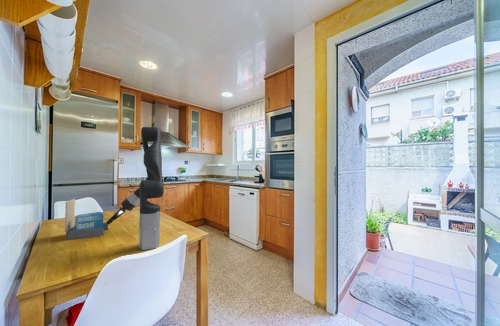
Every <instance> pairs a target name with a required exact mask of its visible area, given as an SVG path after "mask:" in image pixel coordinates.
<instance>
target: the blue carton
mask: <svg viewBox="0 0 500 326" xmlns="http://www.w3.org/2000/svg"><path fill="white" fill-rule="evenodd" d="M103 223H104V213H103V212H102V211H94V212H86V213H81V214H77V215H76V216H75V218H74V226H75V230H83V229H92V228H102V227H103Z"/></svg>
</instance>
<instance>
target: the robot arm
mask: <svg viewBox="0 0 500 326" xmlns="http://www.w3.org/2000/svg"><path fill="white" fill-rule="evenodd" d="M140 135H141V143H142V148H143V165H144V166H145V171H146V179H145V180H141V181H140V183H139V187H138V188H137V189H136V190H135V191H133V192H132V193H131V194H129V195H128V196H127V197H126V198H125V199H124V200H123V201H121V202H120V205H121V206H120V207H119V208H118V209H117V210H116V211H115V212H114V213H113V215H112V216H111V217H110V218H109V219H108V220H106V222H105V223H107V224H108V226H110V224H112V223H113V222H114V221H115V220H117V219H118V218H120V217H121V216H122V215H124V214H125V213H126V212H127V211H128V212H131V211H132V210H134V209H135V208H136V207H137V206H138V205H139V229H138V235H139V236H138V249H140V250H141V251H147V250H151V249H154V250H155V249H157V247H159V245H160V243H161V241H160V240H161V235H160V234H161V206H160V205H159V204H157V203H153V202H150V201H149V200H148V199H159V198H162V197H163V196H164V191H165V189H164V188H165V186H164V180H163V170H162V169H163V165H162V163H163V162H162V160H163V158H162V147H161V141H162V132H161V130H160V128H159V127H157V126H143V127H141V130H140ZM149 142H152V144H150V145H149ZM126 210H127V211H126Z"/></svg>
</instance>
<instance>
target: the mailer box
mask: <svg viewBox="0 0 500 326" xmlns="http://www.w3.org/2000/svg"><path fill="white" fill-rule="evenodd" d="M75 201H76V198H72V199H69V200H66V201H65V214H64V215H65V216H64V217H65V219H64V220H65V221H64V224H65V225H64V232H66V233H65V241H69V240H77V239H85V238H92V237H94V238H95V237H101V236H104V235H105V232H104V231H109V225H108V224H107V223H106V222H103V227H102V228H92V229H83V230H75V209H76V208H75V207H76V206H75V205H76V204H75V203H76V202H75Z"/></svg>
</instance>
